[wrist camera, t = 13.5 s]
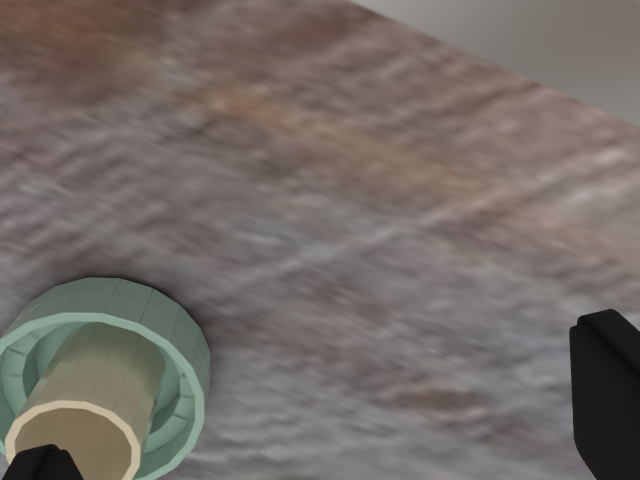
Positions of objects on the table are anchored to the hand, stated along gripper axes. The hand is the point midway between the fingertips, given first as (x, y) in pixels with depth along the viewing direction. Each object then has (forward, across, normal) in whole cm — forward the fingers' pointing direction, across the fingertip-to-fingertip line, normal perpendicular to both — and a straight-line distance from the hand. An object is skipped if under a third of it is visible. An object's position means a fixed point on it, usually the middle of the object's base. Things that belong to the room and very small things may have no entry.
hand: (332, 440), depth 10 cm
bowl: (+25, +15, +12) cm, 32 cm away
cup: (+24, +15, +12) cm, 31 cm away
